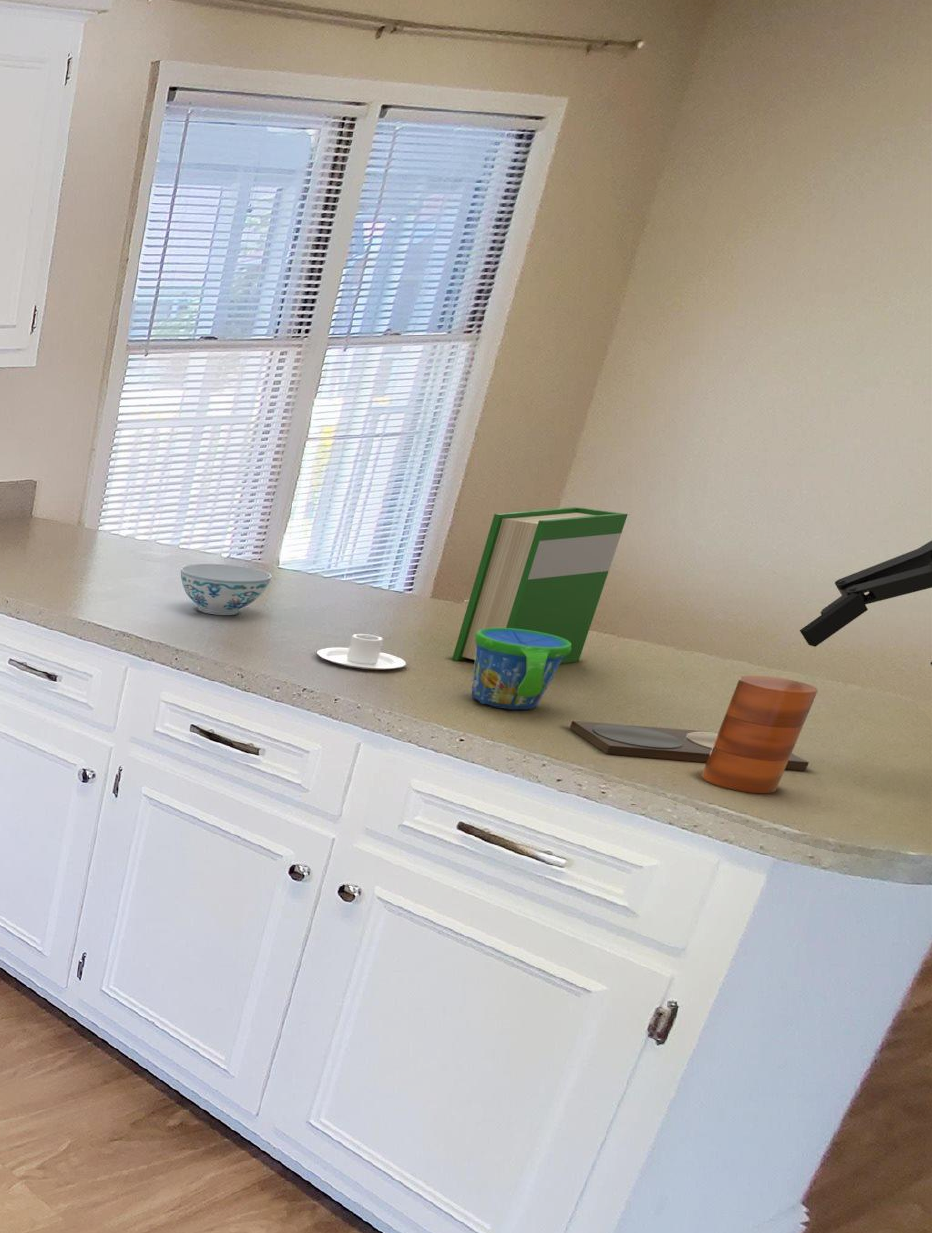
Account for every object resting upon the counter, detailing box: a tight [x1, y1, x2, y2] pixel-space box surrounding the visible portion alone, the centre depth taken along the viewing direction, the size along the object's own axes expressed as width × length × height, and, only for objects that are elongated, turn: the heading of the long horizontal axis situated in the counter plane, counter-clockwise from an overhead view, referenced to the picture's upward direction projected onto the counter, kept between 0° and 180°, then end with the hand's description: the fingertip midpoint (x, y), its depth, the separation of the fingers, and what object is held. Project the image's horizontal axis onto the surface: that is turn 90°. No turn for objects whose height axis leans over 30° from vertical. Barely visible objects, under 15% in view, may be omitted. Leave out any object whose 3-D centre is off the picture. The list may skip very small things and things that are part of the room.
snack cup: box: [471, 628, 571, 711], centre depth 162 cm, size 16×10×10 cm
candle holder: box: [316, 633, 407, 670], centre depth 183 cm, size 12×12×4 cm
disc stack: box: [701, 675, 819, 794], centre depth 134 cm, size 6×6×13 cm
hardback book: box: [451, 506, 629, 664], centre depth 179 cm, size 18×7×24 cm, turn 106°
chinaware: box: [180, 563, 272, 616], centre depth 215 cm, size 15×15×8 cm
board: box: [569, 720, 809, 772], centre depth 146 cm, size 10×20×1 cm, turn 71°
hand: (869, 654), depth 130 cm, fingers open, 13 cm apart
